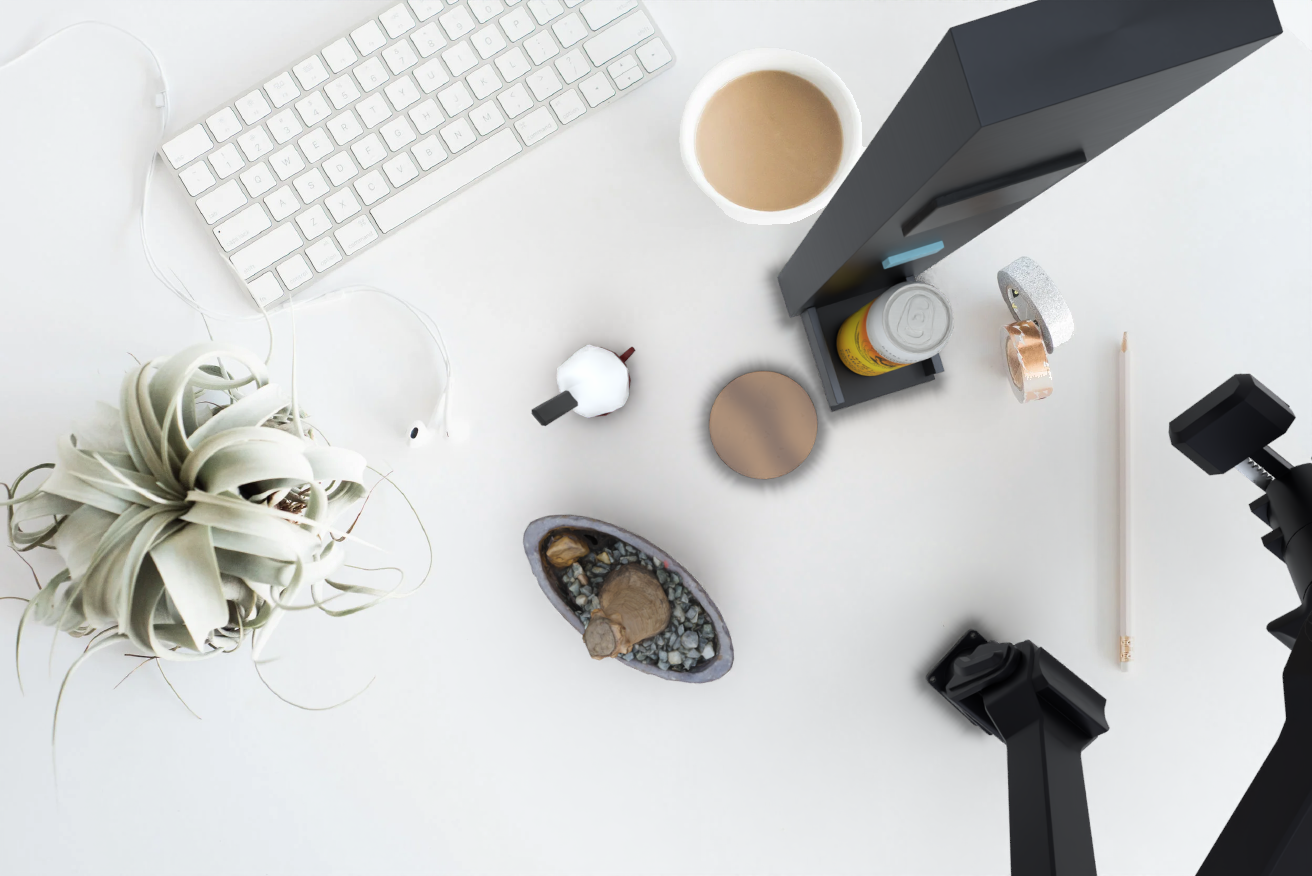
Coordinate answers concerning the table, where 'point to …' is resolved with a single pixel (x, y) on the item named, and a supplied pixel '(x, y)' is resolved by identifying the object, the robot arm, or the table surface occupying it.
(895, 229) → the dispenser
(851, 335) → the beer can
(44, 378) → the table surface
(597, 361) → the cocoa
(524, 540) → the planter
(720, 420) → the cork coaster
